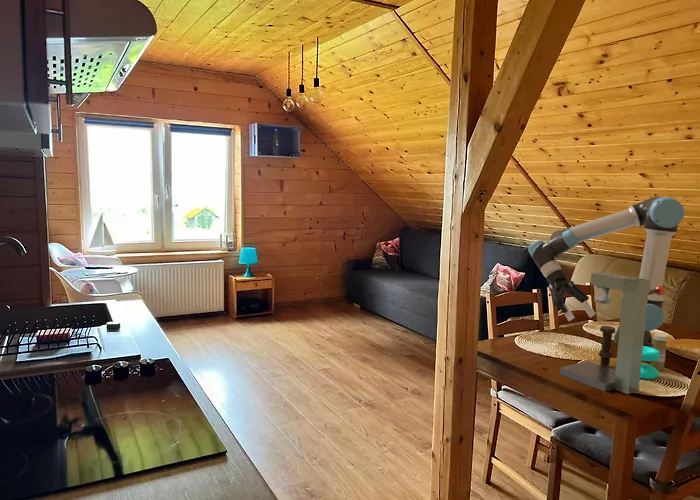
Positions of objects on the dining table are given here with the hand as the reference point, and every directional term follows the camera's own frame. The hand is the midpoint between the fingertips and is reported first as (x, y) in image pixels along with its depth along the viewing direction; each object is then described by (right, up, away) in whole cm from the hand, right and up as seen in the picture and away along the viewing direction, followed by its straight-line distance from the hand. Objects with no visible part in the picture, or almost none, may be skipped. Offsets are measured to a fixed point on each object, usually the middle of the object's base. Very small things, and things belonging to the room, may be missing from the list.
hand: (582, 317), depth 209 cm
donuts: (+15, -19, -16) cm, 29 cm away
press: (0, -19, -21) cm, 29 cm away
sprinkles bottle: (+24, -18, -9) cm, 32 cm away
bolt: (+5, -18, -7) cm, 20 cm away
